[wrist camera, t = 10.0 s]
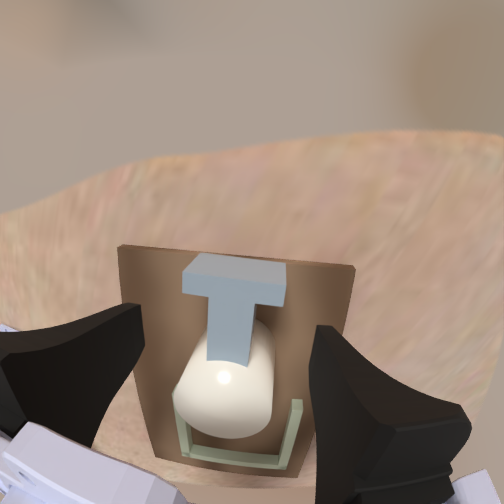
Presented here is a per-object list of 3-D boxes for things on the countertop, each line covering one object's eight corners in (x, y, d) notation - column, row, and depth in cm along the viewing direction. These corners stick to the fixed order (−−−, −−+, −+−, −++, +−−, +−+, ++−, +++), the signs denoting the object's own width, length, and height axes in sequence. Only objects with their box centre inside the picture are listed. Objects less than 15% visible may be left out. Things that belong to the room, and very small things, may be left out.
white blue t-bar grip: (270, 379, 19) (264, 443, 14) (200, 368, 20) (176, 428, 14) (290, 253, 17) (294, 296, 11) (204, 242, 17) (167, 278, 11)
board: (157, 451, 25) (155, 456, 24) (123, 244, 19) (117, 247, 18) (297, 471, 24) (297, 477, 23) (352, 265, 17) (355, 269, 17)
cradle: (185, 446, 23) (182, 455, 22) (176, 383, 20) (171, 393, 19) (286, 460, 22) (285, 469, 21) (302, 399, 20) (303, 410, 19)
